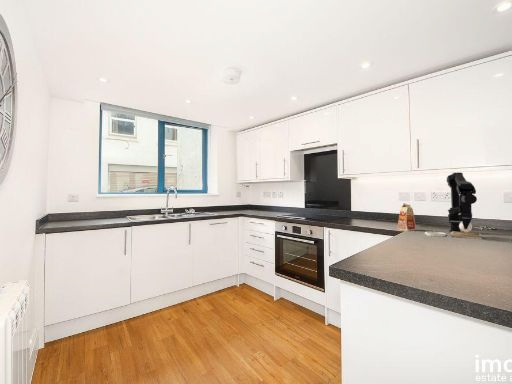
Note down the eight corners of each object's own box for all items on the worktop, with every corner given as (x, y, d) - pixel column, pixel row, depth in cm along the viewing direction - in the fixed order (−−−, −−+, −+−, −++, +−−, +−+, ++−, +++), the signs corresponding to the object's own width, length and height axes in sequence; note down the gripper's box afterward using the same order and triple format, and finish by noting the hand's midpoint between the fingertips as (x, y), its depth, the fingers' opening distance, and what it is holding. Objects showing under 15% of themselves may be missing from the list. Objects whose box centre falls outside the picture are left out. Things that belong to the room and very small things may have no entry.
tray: (452, 234, 159) (451, 231, 159) (481, 236, 150) (481, 233, 150) (450, 236, 150) (450, 233, 150) (481, 239, 141) (481, 235, 141)
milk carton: (407, 230, 177) (406, 203, 177) (396, 229, 186) (396, 202, 186) (416, 230, 179) (416, 203, 180) (406, 228, 188) (405, 202, 188)
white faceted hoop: (426, 233, 164) (426, 231, 165) (446, 234, 157) (446, 232, 157) (424, 235, 157) (424, 232, 157) (444, 236, 150) (444, 234, 150)
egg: (462, 231, 154) (461, 219, 154) (474, 232, 149) (474, 220, 149) (457, 231, 151) (457, 219, 151) (469, 233, 146) (469, 220, 146)
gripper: (449, 202, 163) (450, 225, 162) (447, 203, 149) (447, 229, 149) (472, 203, 155) (472, 227, 155) (471, 204, 141) (472, 230, 141)
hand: (465, 228), depth 150 cm, fingers closed on egg, 6 cm apart
